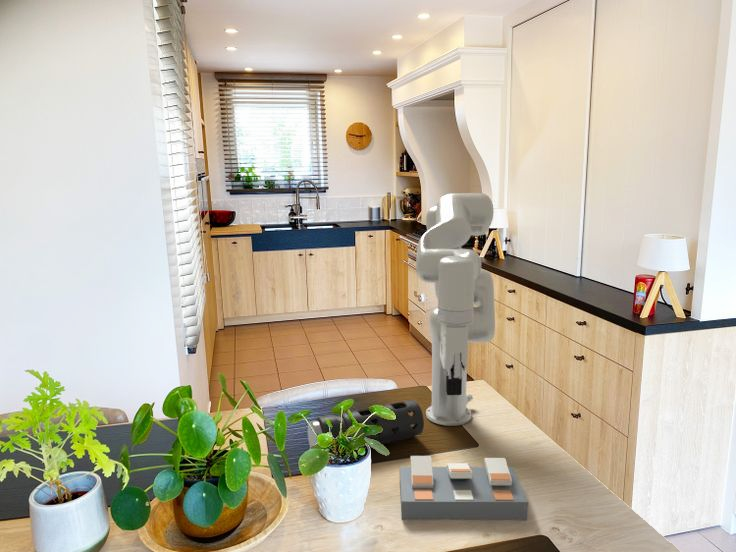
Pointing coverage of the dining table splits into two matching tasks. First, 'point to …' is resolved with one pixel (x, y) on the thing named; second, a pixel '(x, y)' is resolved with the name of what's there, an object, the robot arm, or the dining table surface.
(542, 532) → the dining table surface
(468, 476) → the switch
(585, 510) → the dining table surface
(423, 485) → the switch
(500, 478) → the switch
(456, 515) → the console
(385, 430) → the muzzle brake
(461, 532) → the dining table surface
